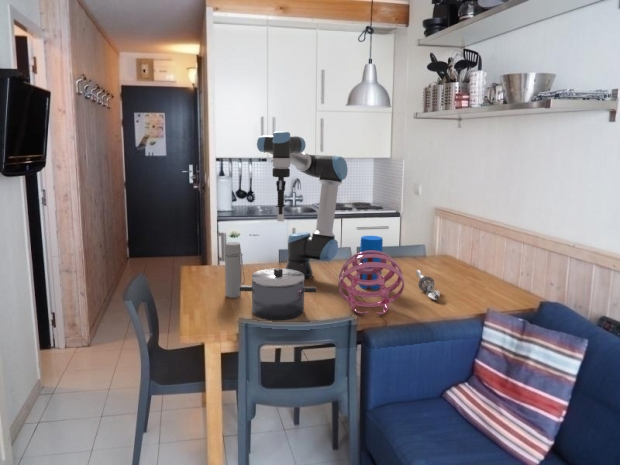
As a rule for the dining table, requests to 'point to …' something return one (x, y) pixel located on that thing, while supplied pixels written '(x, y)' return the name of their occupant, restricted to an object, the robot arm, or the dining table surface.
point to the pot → (277, 301)
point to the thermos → (366, 245)
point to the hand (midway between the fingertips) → (280, 221)
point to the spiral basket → (379, 281)
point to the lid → (278, 278)
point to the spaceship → (427, 285)
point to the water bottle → (233, 269)
